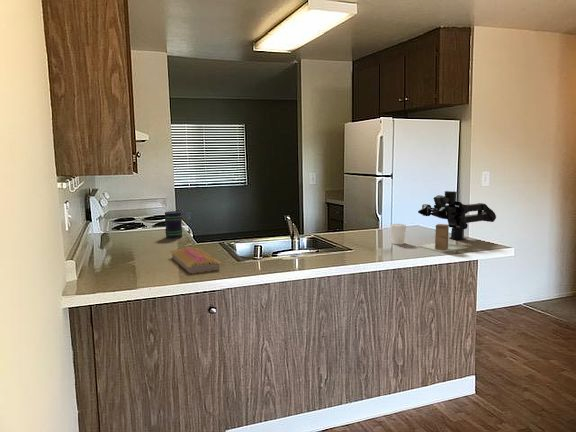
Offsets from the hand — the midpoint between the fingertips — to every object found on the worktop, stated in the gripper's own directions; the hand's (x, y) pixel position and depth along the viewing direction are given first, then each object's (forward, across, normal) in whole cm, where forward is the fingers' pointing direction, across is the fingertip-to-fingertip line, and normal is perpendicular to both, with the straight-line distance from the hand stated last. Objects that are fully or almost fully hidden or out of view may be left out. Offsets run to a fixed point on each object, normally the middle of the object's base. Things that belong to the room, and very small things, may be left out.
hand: (424, 212), depth 246 cm
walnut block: (+4, +16, +16) cm, 23 cm away
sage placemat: (-1, +12, +17) cm, 20 cm away
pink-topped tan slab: (+119, -22, +16) cm, 122 cm away
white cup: (+11, -8, +17) cm, 21 cm away
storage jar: (+109, -92, +16) cm, 144 cm away
